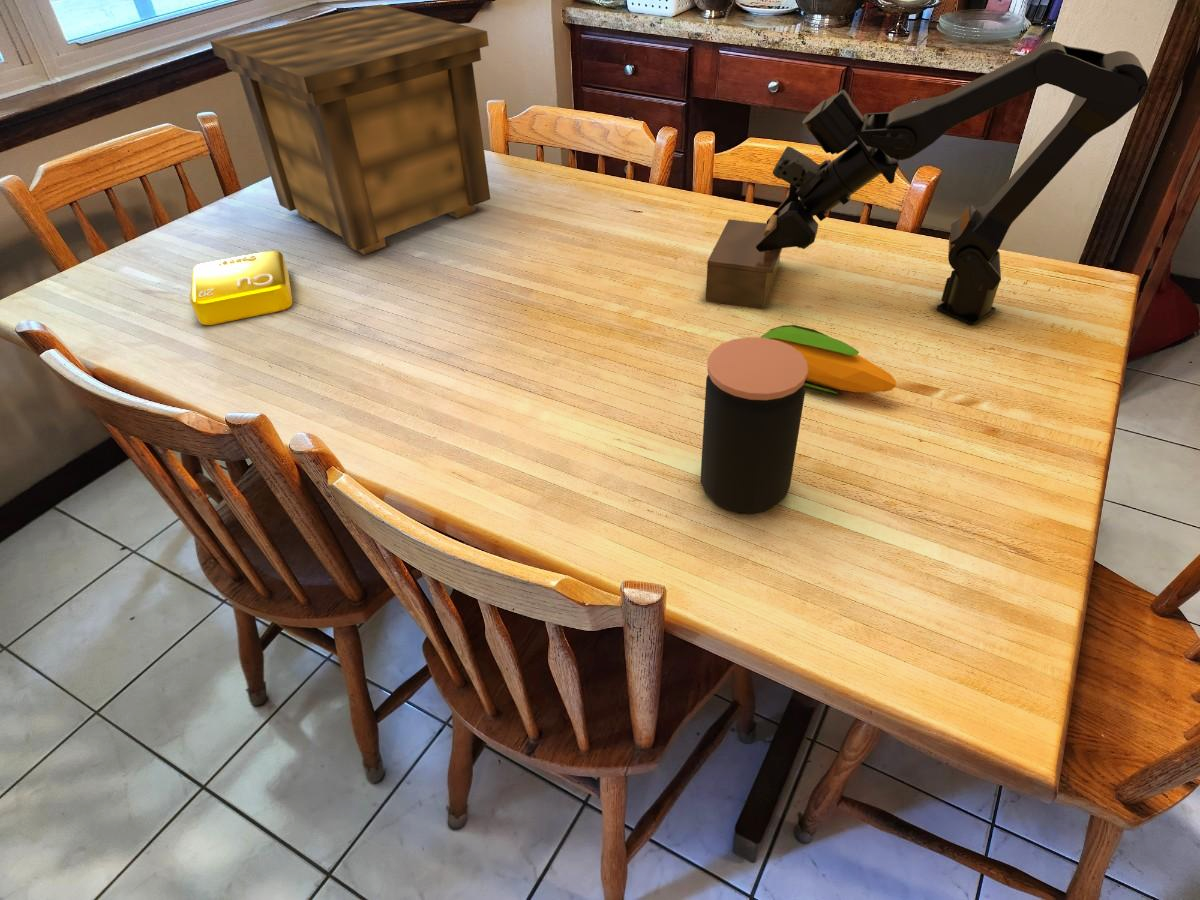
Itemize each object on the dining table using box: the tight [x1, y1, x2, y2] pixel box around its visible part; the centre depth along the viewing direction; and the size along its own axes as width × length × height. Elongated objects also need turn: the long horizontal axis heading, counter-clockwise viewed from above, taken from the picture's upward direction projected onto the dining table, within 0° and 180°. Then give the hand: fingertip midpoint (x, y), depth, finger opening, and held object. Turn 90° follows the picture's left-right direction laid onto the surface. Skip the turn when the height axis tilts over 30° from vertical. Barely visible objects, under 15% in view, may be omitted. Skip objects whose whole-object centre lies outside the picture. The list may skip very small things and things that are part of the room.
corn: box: [759, 324, 897, 395], centre depth 109 cm, size 7×8×20 cm
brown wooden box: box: [705, 256, 781, 310], centre depth 132 cm, size 9×16×6 cm, turn 161°
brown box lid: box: [706, 215, 784, 273], centre depth 128 cm, size 10×16×5 cm
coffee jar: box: [699, 336, 808, 515], centre depth 90 cm, size 11×11×18 cm
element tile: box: [189, 250, 293, 326], centre depth 135 cm, size 15×15×5 cm
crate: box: [209, 4, 491, 256], centre depth 150 cm, size 35×35×33 cm
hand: (763, 236), depth 127 cm, fingers open, 9 cm apart
